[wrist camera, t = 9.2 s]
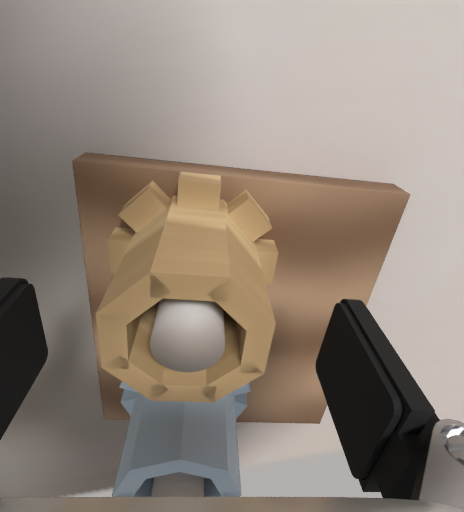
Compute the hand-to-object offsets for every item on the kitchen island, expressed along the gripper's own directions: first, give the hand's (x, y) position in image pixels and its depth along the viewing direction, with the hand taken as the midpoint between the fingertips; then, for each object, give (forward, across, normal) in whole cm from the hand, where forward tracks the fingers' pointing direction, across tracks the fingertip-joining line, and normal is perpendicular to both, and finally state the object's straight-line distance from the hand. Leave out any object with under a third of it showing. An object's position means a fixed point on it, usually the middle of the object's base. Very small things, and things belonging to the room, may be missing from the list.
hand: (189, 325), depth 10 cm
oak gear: (+5, 0, 0) cm, 5 cm away
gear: (+5, 0, +9) cm, 10 cm away
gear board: (+7, -2, +4) cm, 8 cm away
